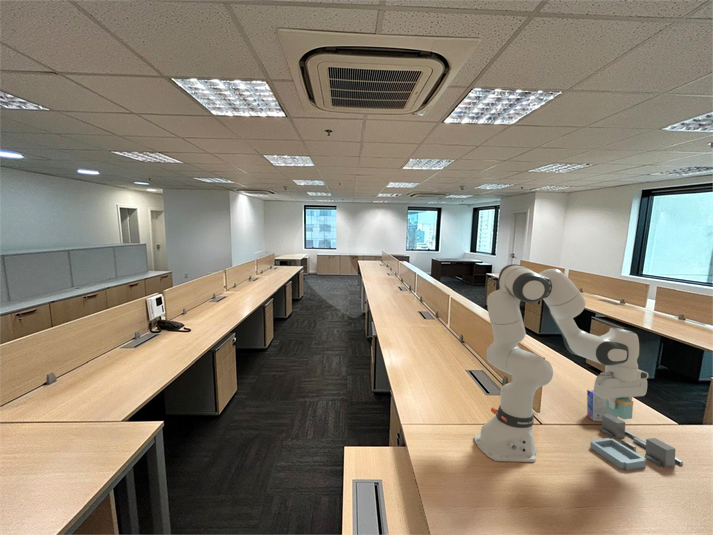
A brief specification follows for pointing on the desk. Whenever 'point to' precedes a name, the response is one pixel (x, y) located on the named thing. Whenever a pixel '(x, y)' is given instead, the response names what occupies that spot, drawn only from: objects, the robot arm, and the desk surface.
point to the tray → (618, 454)
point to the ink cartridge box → (596, 406)
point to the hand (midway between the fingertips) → (618, 407)
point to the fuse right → (661, 452)
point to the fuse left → (614, 425)
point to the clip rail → (640, 442)
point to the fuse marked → (621, 408)
